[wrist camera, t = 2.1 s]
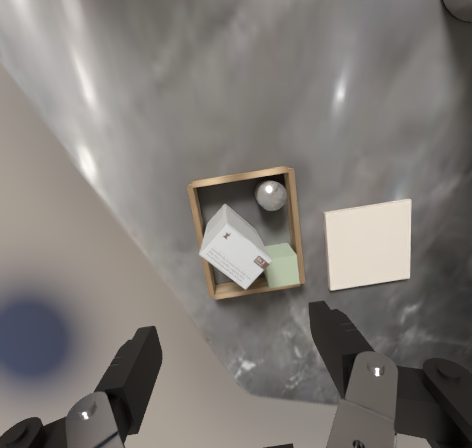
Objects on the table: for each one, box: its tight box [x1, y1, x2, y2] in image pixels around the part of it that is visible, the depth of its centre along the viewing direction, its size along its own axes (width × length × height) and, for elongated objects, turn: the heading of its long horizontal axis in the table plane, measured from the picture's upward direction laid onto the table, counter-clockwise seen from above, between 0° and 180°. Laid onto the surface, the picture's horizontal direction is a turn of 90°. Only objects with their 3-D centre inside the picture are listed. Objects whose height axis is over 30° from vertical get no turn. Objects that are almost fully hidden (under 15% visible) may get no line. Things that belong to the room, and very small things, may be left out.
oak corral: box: [187, 167, 305, 300], centre depth 33 cm, size 13×16×3 cm
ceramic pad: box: [323, 199, 411, 290], centre depth 35 cm, size 12×12×1 cm
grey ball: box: [254, 180, 287, 211], centre depth 31 cm, size 4×4×4 cm
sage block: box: [264, 243, 300, 288], centre depth 33 cm, size 4×4×5 cm
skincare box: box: [199, 204, 272, 290], centre depth 28 cm, size 6×4×12 cm
